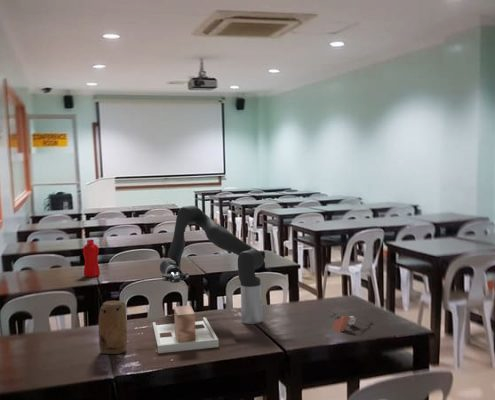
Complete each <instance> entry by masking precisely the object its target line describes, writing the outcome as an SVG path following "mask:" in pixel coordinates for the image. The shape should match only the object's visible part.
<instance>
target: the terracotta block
mask: <svg viewBox="0 0 495 400" xmlns="http://www.w3.org/2000/svg"><path fill="white" fill-rule="evenodd" d="M173 311H174V314H173V315H174V316H173V317H174V318H173V319H174V324H175V336H176V339H177V342H178V343H180V342H190V341H196V334H195V329H196V325H195V322H196V313H195V311H194V310H193V307H192V305H179V306H173Z"/></svg>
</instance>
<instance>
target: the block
mask: <svg viewBox="0 0 495 400" xmlns="http://www.w3.org/2000/svg"><path fill="white" fill-rule="evenodd" d="M127 330H128V326H127V309H126V303H125V301H124V300H113V299H112V300H106V301H105V302H103V303H102V305H101V306H100V308H99V314H98V347H99V352H100V354H103V355H105V354H108V355H113V354H114V355H115V354H117V355H118V354H122V353H125V352H126V350H127V346H128V331H127Z"/></svg>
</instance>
